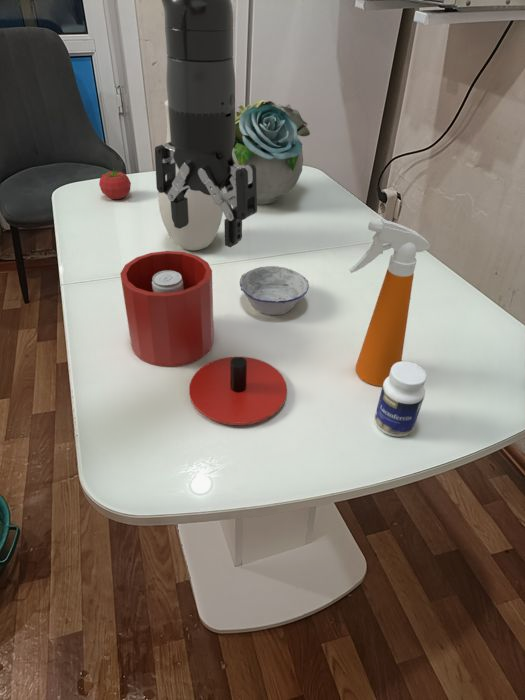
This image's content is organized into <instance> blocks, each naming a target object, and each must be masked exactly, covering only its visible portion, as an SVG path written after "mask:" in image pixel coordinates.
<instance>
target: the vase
mask: <svg viewBox="0 0 525 700" xmlns="http://www.w3.org/2000/svg"><path fill="white" fill-rule="evenodd" d="M164 110H165V116H166V140H165V141H166V142H165V143H168V142H171V137H170V123H169V109H168V99H166V100H165V101H164ZM178 172H179V169H178V167H177V165H176V176H177V174H178ZM165 178H166V180H167V174H166V176H165ZM157 192H158V191H157ZM220 192H221V193H223V194H224V192H223V189H222V190H221V191H220ZM157 194H158V197H157V199H158V209H159V213H160V217H161V221H162V223H163V225H164V227H165V230H166V232H167V234H168V236H169V237H170V239H171V240H172V241H173V243H174V244H175V245H176V246H177V247H179V248H180V249H182V250H186V251H200V250H203V249H205V248H207V247H209V246H210V245H211V244H212V242H214V239H215V238H216V236H217V235H218V231H219V230H220V226H221V223H222V219H223V215H224V213H223V211H222V209H221V207H220V206H219V205H217V204H216V203H215V202H214V200H213V198H212V196H211V195H206V194H204V193H202V192H201V191H194V190H189V191H188V193H187V194H186V195H185V196H184V197H186V198H187V199H188V217H189V223H188V225H187V226H185V227H183V228H181V229H179V228H176V227H174V222H173V220H172V214H171V202H170V200H169V199H168V197H167V195H166V194H165V193H164V192H163V193H160V192H158V193H157Z"/></svg>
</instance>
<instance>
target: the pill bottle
mask: <svg viewBox="0 0 525 700" xmlns="http://www.w3.org/2000/svg"><path fill="white" fill-rule="evenodd" d="M426 380H427V373H426V371H425V370H424V369H423V367H422V366H420V365H418V364H417V363H415V362H412V361H405V360H404V361H401V362H397V363H395V364H394V365H393V366H392V368H391V371H390V374H389V376H388V377H387V378H386V379H385V381H384V383H383V386H381V392H380V395H379V399H378V402H377V405H376V410H375V414H374V421H375V425H376V426H377V429H379V430H380V431H381V432H383V433H384V434H386V435H388V436H391V437H406V436H407V435H409V434H411V433H412V432H413V430H414V428H415V425H416V423H417V419H418V416H419V414H420V411H421V409H422V408H421V407H422V405H423V402H424V399H425V397H426V388H425V383H426Z"/></svg>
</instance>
